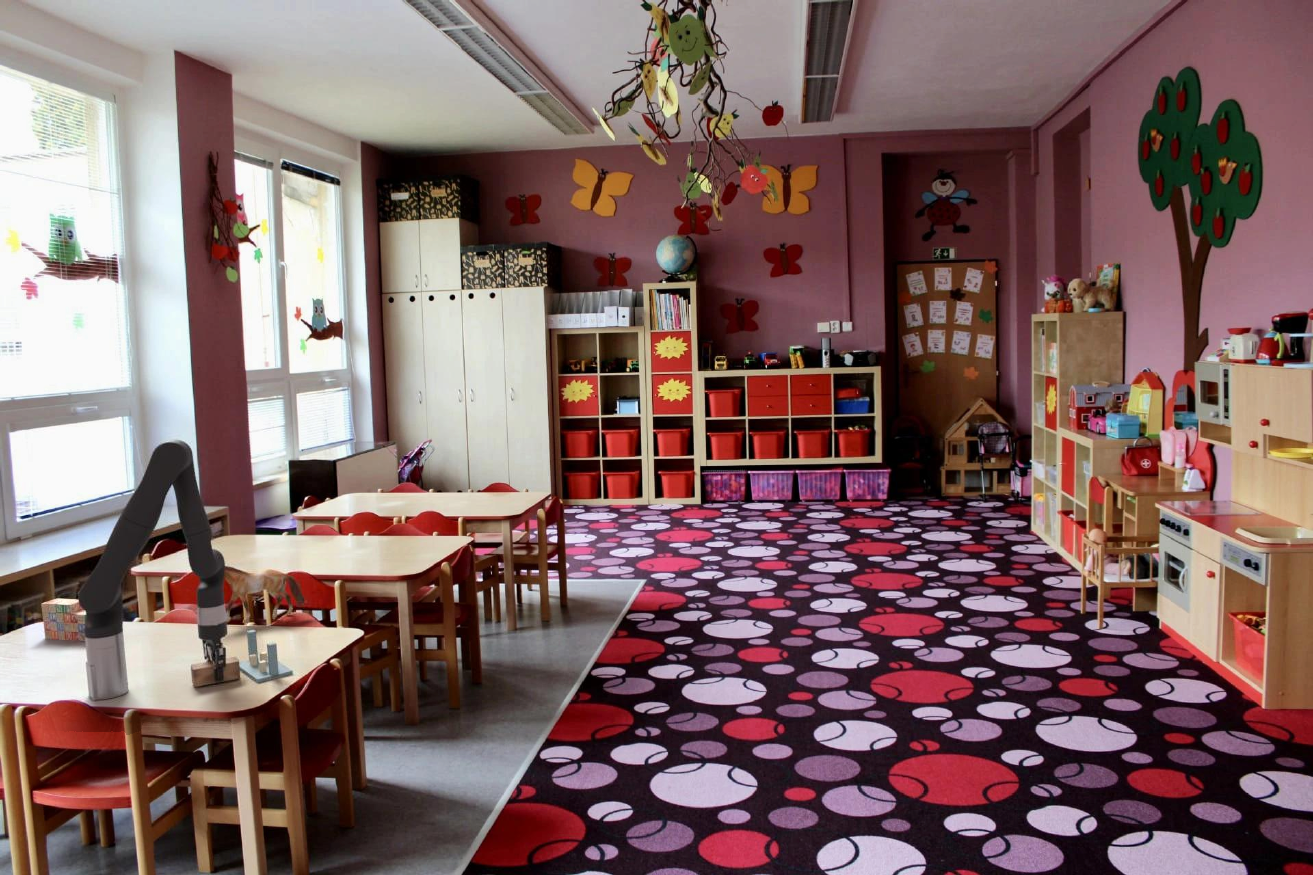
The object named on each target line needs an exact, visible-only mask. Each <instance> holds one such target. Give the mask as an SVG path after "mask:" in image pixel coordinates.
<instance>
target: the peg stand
mask: <svg viewBox="0 0 1313 875" xmlns="http://www.w3.org/2000/svg"><path fill="white" fill-rule="evenodd" d="M246 638H247V647H248V649H247V650H248V652H247V653H248V660H245V661H241V662H240V661H239V666H240V672H242V673H244V675H246V676H247V677H249V679H252V680H253V681H254V682H256V683H263V682H266V681H270V680H275V679H278V678H283V677H287V676H290V675H293V674H294V672H293V670H292V669H291V668H289V667H287V666H286V665H285V664H284V663H281V662H280V661H278V648H277V642H275V641H274V642H268V643H266V650H267V652H266V651H262V652H258V641H257V631H256V630H254V629H250V630H247V631H246ZM258 654H259V655H258Z"/></svg>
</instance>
